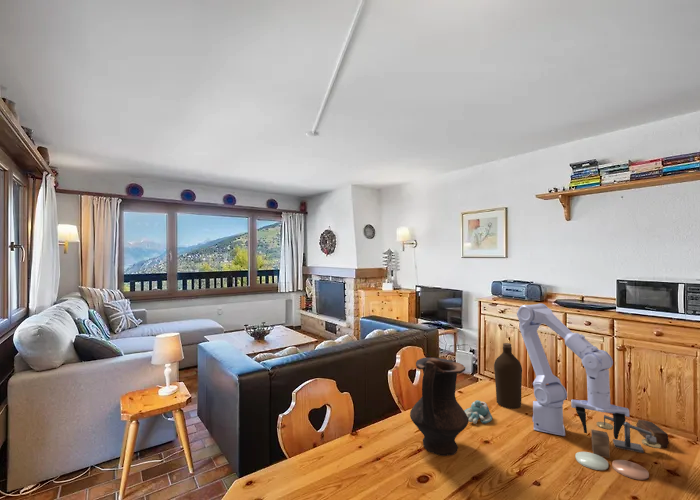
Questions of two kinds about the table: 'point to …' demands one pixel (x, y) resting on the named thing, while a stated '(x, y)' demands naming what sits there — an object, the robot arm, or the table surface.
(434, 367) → the jug
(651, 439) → the balance
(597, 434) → the walnut block
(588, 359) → the robot arm
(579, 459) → the sage dish
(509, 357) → the olive oil
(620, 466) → the pink disc
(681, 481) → the table surface
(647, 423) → the brick
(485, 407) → the stuffed animal
